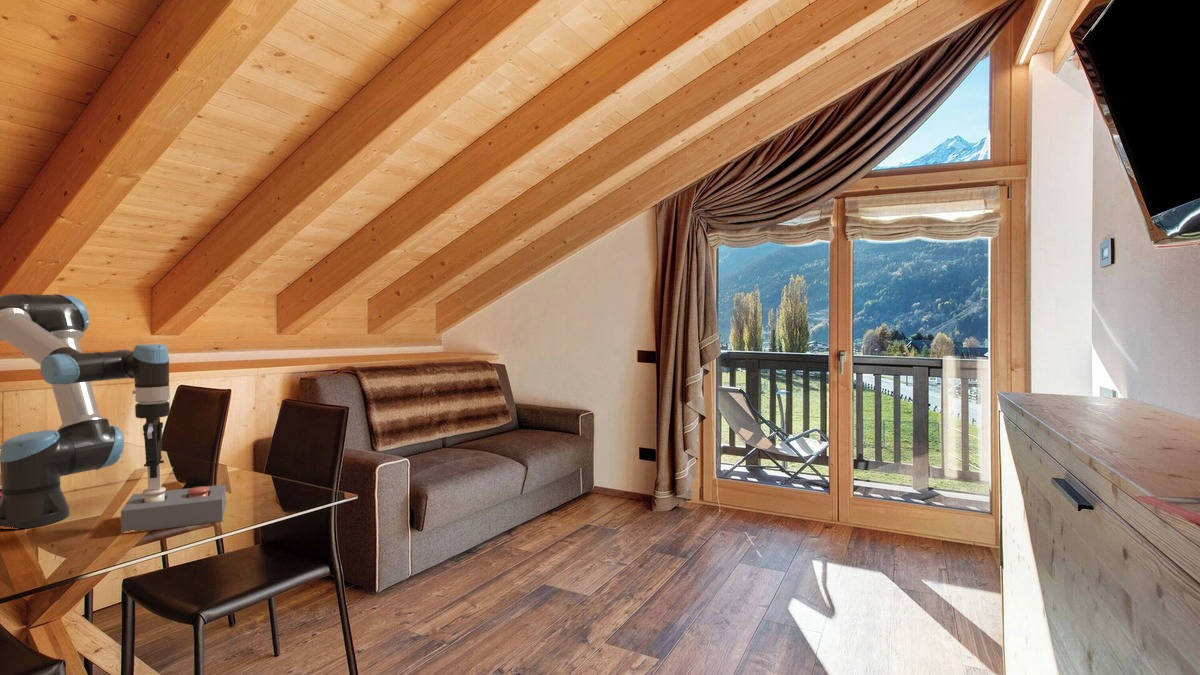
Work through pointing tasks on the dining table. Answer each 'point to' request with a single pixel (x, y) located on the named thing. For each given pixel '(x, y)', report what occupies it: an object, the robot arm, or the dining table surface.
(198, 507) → the grey plunger base
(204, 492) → the red plunger
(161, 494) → the ivory plunger
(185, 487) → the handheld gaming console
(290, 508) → the dining table surface
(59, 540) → the dining table surface
